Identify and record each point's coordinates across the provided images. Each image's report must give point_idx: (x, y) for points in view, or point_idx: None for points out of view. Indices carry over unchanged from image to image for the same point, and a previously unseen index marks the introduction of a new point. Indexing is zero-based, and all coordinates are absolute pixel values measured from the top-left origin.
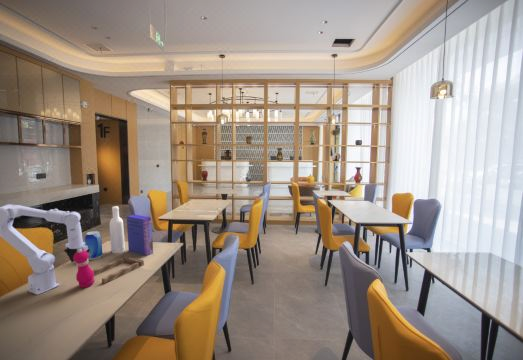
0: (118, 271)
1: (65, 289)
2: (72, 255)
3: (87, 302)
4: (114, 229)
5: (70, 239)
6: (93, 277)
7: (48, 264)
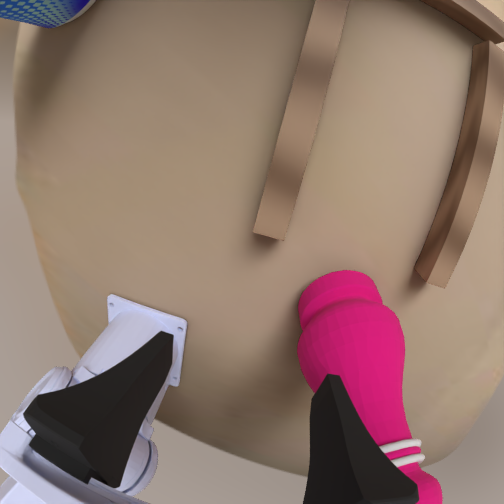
0: (477, 179)
1: (254, 346)
2: (141, 406)
3: (422, 389)
4: None
5: None
6: (372, 288)
7: (152, 475)
